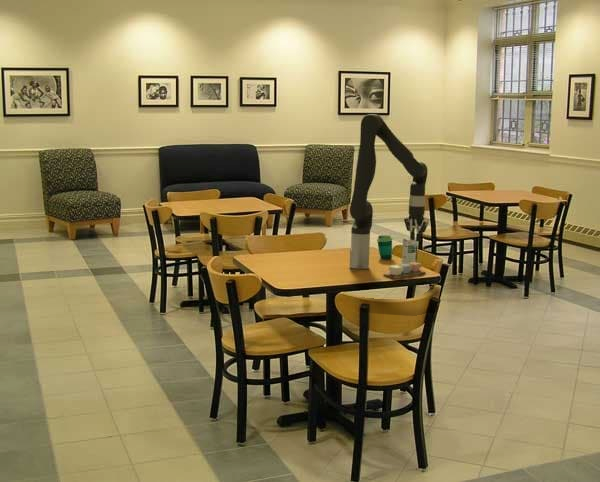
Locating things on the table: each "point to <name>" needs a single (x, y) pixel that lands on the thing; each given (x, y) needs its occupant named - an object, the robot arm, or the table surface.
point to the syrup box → (409, 250)
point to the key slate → (406, 268)
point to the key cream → (395, 270)
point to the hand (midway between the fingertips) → (415, 240)
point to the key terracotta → (415, 266)
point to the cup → (385, 247)
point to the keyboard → (405, 275)
